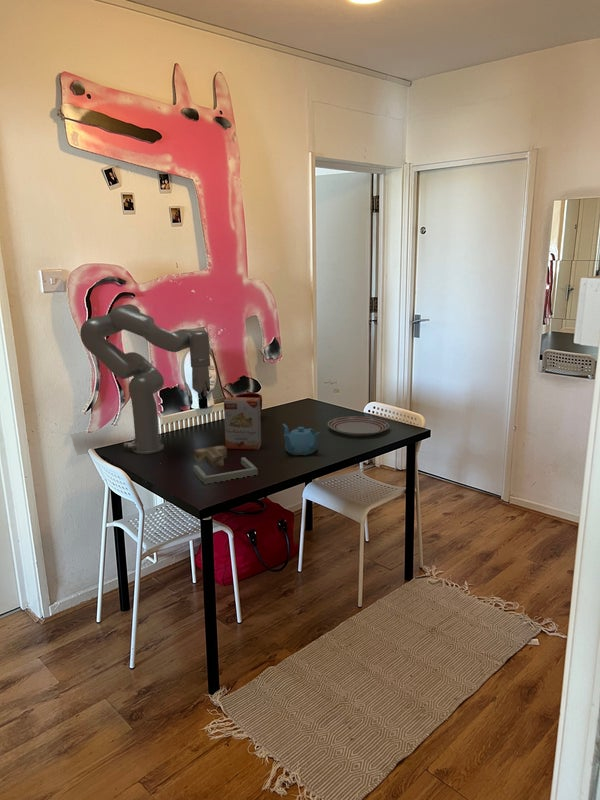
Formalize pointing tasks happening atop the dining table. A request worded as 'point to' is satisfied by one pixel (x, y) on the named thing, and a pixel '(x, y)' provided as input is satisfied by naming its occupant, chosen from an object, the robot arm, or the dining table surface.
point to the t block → (211, 455)
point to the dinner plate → (358, 425)
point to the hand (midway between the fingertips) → (203, 408)
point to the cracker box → (242, 423)
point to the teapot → (300, 441)
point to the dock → (249, 471)
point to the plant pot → (252, 395)
